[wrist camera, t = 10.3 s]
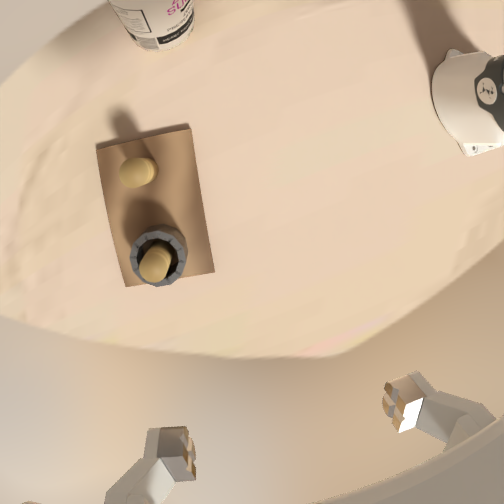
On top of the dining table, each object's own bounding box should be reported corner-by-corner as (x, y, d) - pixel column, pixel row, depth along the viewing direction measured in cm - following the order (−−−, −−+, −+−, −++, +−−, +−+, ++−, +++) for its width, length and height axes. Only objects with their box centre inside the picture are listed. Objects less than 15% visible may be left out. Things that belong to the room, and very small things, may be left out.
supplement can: (131, 8, 29) (102, -51, 15) (193, -2, 30) (189, -68, 16) (132, 58, 32) (95, 10, 17) (196, 48, 32) (192, -9, 18)
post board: (191, 129, 35) (186, 121, 28) (214, 269, 41) (216, 294, 33) (98, 150, 34) (73, 148, 27) (127, 284, 40) (111, 311, 32)
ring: (181, 219, 37) (178, 226, 34) (192, 269, 39) (190, 280, 36) (132, 229, 37) (124, 237, 33) (144, 277, 39) (138, 290, 35)
